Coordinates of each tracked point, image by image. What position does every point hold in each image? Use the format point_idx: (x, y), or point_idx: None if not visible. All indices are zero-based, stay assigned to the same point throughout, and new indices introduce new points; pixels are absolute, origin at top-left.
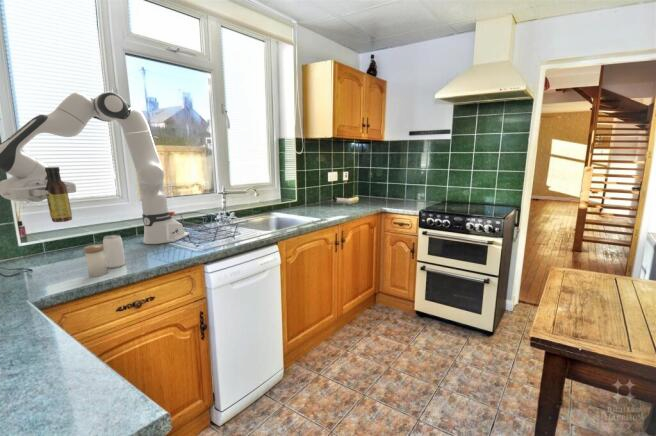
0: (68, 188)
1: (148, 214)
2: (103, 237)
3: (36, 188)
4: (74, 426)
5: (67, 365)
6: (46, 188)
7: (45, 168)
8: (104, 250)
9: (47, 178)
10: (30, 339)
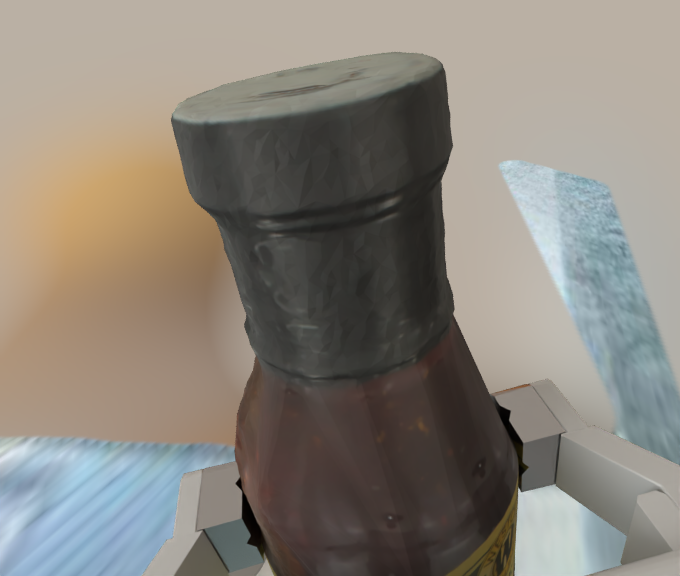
0: (216, 468)
1: None
2: (261, 563)
3: (670, 552)
4: (555, 171)
5: (553, 221)
6: (499, 422)
7: (444, 71)
8: None
9: (450, 290)
10: (604, 288)
